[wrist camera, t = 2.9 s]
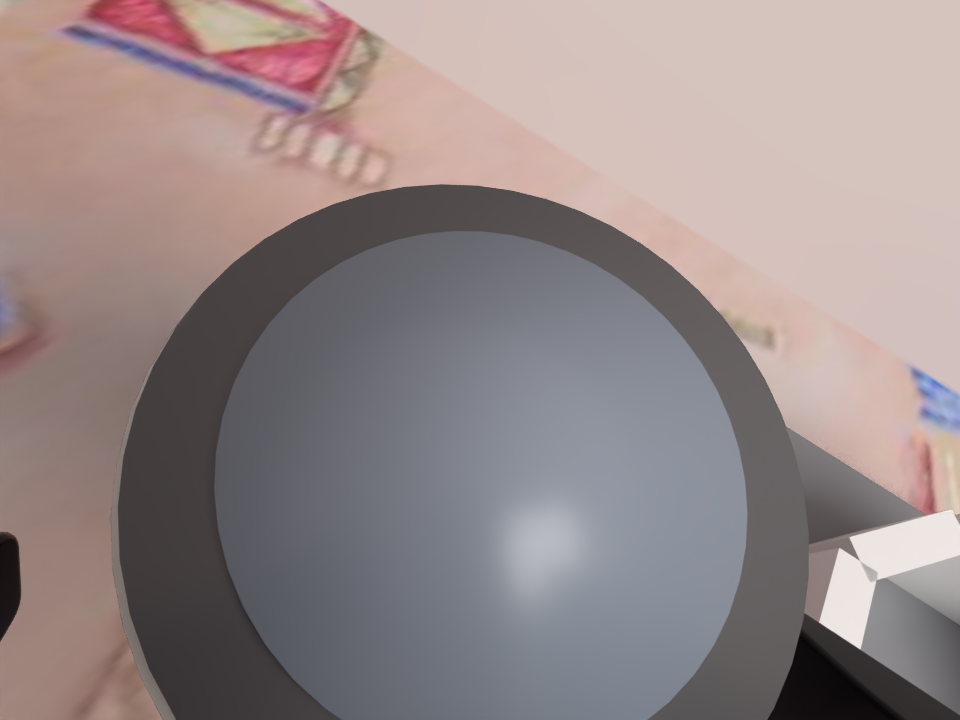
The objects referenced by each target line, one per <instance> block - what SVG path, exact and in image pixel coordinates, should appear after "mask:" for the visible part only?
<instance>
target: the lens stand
mask: <svg viewBox="0 0 960 720" xmlns="http://www.w3.org/2000/svg"><path fill="white" fill-rule="evenodd" d="M786 429H787V432H788V435H789V437H790V440H791V443H792V446H793V449H794V452H795V456H796V460H797V464H798V469H799V473H800V477H801V482H802V486H803V490H804V497H805V506H806V514H807V523H808V532H809V578H808V586H807V594H806V602H805V610H804V613H805V614H807V615H809V616H810V617H812V618H813V619H815V620H816V621H818V622H819V623H821V624H822V625H824V626H825V627H827V628H828V629H830V630H831V631H833V632H835V633H836V634H838V635H839V636H841V637H842V638H844V639H845V640H847V641H848V642H850V643H851V644H853V645H854V646H856V647H857V648H859V649H860V650H862V651H863V652H865V653H867V654H868V655H870V656H871V657H873V658H874V659H876V660H877V661H879V662H880V663H882V664H883V665H885V666H886V667H888V668H889V669H891V670H892V671H894V672H895V673H897V674H899V675H900V676H902V677H903V678H905V679H906V680H908V681H909V682H911V683H912V684H914V685H915V686H917V687H918V688H920V689H921V690H923V691H924V692H926V693H927V694H929V695H931V696H932V697H934V698H935V699H937V700H938V701H940V702H941V703H943V704H944V705H946V706H947V707H949V708H950V709H952V710H953V711H955V712H956V713H958V714H959V715H960V514H958V515H954V513H953V511H952V509H951V510H947V511H942V512H938V513H934V514H929V515H925V514H924V513H922V512H921V511H919V510H917V509H916V508H914V507H913V506H911V505H909V504H908V503H906V502H905V501H903V500H902V499H900V498H898V497H897V496H895V495H894V494H892V493H890V492H889V491H887V490H886V489H884V488H883V487H881V486H879V485H878V484H876V483H875V482H873V481H871V480H870V479H868V478H867V477H865V476H863V475H862V474H860V473H859V472H857V471H856V470H854V469H852V468H851V467H849V466H848V465H846V464H844V463H843V462H841V461H840V460H838V459H837V458H835V457H833V456H832V455H830V454H829V453H827V452H825V451H824V450H822V449H821V448H819V447H818V446H816V445H814V444H813V443H811V442H810V441H808V440H806V439H805V438H803V437H802V436H800V435H798V434H797V433H795V432H794V431H792V430H791V429H789V428H787V427H786Z"/></svg>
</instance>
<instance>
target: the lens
mask: <svg viewBox="0 0 960 720" xmlns="http://www.w3.org/2000/svg"><path fill="white" fill-rule="evenodd" d="M111 542H112V570H113V575H114V581H115V586H116V592H117V597H118V603H119V608H120V614H121V619H122V624H123V627H124V630H125V633H126V636H127V639H128V642H129V645H130V647H131V650H132V653H133V656H134V659H135V662H136V665H137V668H138V671H139V674H140V676H141V679H142V681H143V683H144V684H145V686H146V688H147V690H148V692H149V694H150V696H151V698H152V700H153V702H154V703H155V705H156V707H157V709H158V711H159V713H160V715H161V717H162V719H163V720H767V719H768V717H769V716H770V714H771V712H772V711H773V709H774V707H775V704H776V702H777V700H778V697H779V695H780V692H781V690H782V687H783V685H784V682H785V680H786V677H787V675H788V673H789V670H790V668H791V665H792V662H793V658H794V654H795V650H796V646H797V642H798V639H799V635H800V631H801V627H802V623H803V618H804V610H805V602H806V594H807V586H808V578H809V532H808V523H807V514H806V506H805V497H804V490H803V486H802V482H801V477H800V473H799V469H798V464H797V460H796V456H795V452H794V449H793V446H792V443H791V440H790V437H789V435H788V432H787V429H786V426H785V423H784V420H783V417H782V415H781V412H780V410H779V408H778V406H777V404H776V402H775V400H774V398H773V395H772V393H771V391H770V389H769V387H768V385H767V383H766V381H765V379H764V377H763V375H762V374H761V372H760V370H759V369H758V367H757V366H756V364H755V362H754V361H753V359H752V357H751V356H750V354H749V352H748V351H747V349H746V347H745V346H744V345H743V343H742V342H741V341H740V339H739V338H738V337H737V335H736V334H735V333H734V331H733V330H732V329H731V327H730V326H729V325H728V323H727V322H726V321H725V319H724V318H723V317H722V316H721V314H720V313H719V312H718V311H717V310H716V309H715V308H714V307H713V306H712V305H711V304H710V302H709V301H708V300H707V299H706V298H705V297H704V296H703V295H702V294H701V293H700V291H699V290H698V289H696V288H695V287H694V286H693V285H692V284H691V283H690V282H689V281H688V280H686V279H685V278H684V277H683V276H682V275H681V274H680V273H679V272H678V271H676V270H675V269H674V268H673V267H672V266H671V265H669V264H668V263H667V262H665V261H664V260H663V259H661V258H660V257H659V256H657V255H656V254H655V253H653V252H652V251H650V250H649V249H648V248H646V247H645V246H644V245H642V244H641V243H639V242H637V241H636V240H634V239H632V238H631V237H629V236H627V235H626V234H624V233H622V232H621V231H619V230H617V229H616V228H614V227H612V226H610V225H608V224H606V223H604V222H602V221H600V220H598V219H595V218H593V217H591V216H589V215H587V214H585V213H583V212H581V211H578V210H575V209H572V208H570V207H567V206H564V205H561V204H558V203H556V202H553V201H550V200H547V199H543V198H539V197H535V196H531V195H527V194H523V193H519V192H515V191H510V190H503V189H496V188H489V187H482V186H469V185H442V184H441V185H427V186H412V187H403V188H397V189H392V190H386V191H380V192H375V193H369V194H366V195H363V196H359V197H356V198H353V199H349V200H346V201H343V202H339V203H336V204H333V205H331V206H328V207H326V208H324V209H321V210H319V211H317V212H314V213H312V214H310V215H307V216H305V217H303V218H301V219H298V220H297V221H295V222H293V223H291V224H290V225H288V226H286V227H285V228H283V229H281V230H279V231H278V232H276V233H274V234H273V235H271V236H269V237H267V238H266V239H264V240H263V241H262V242H260V243H259V244H258V245H256V246H255V247H254V248H252V249H251V250H250V251H248V252H247V253H246V254H244V255H243V256H242V257H240V258H239V259H238V260H236V261H235V262H234V263H233V264H232V265H231V266H230V267H229V268H227V269H226V270H225V271H224V272H223V273H222V274H221V275H220V276H219V277H218V278H217V279H216V280H215V281H214V282H213V283H212V284H211V285H210V286H209V287H208V288H207V289H206V290H205V291H204V292H203V293H202V294H201V296H200V297H199V298H198V299H197V300H196V302H195V303H194V304H193V305H192V307H191V308H190V309H189V311H188V312H187V313H186V314H185V316H184V317H183V318H182V320H181V321H180V322H179V323H178V325H177V326H176V327H175V328H174V330H173V331H172V332H171V334H170V335H169V337H168V339H167V340H166V342H165V344H164V345H163V347H162V349H161V350H160V352H159V354H158V356H157V357H156V359H155V361H154V362H153V364H152V366H151V367H150V369H149V371H148V373H147V375H146V377H145V380H144V382H143V384H142V387H141V389H140V392H139V394H138V396H137V399H136V401H135V404H134V406H133V408H132V411H131V413H130V416H129V419H128V422H127V426H126V430H125V434H124V438H123V441H122V445H121V449H120V453H119V457H118V461H117V464H116V473H115V482H114V491H113V499H112V508H111Z"/></svg>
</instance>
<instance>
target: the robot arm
mask: <svg viewBox="0 0 960 720" xmlns="http://www.w3.org/2000/svg"><path fill="white" fill-rule="evenodd" d="M20 600H21V577H20V559H19V545H18V541H17V539H16V537H15V536H14V535H12V534H10V533H8V532H0V642H1V640H2V638H3V636H4V635H5V633H6V631H7V630H8V628H9V626H10V624H11V623H12V621H13V619H14V617H15V615H16V613H17V611H18V608H19V605H20ZM767 720H960V715H959V714H958V713H956V712H955V711H953V710H952V709H950V708H949V707H947V706H946V705H944V704H943V703H941V702H940V701H938V700H937V699H935V698H934V697H932V696H931V695H929V694H927V693H926V692H924V691H923V690H921V689H920V688H918V687H917V686H915V685H914V684H912V683H911V682H909V681H908V680H906V679H905V678H903V677H902V676H900V675H899V674H897V673H895V672H894V671H892V670H891V669H889V668H888V667H886V666H885V665H883V664H882V663H880V662H879V661H877V660H876V659H874V658H873V657H871V656H870V655H868V654H867V653H865V652H863V651H862V650H860V649H859V648H857V647H856V646H854V645H853V644H851V643H850V642H848V641H847V640H845V639H844V638H842V637H841V636H839V635H838V634H836V633H835V632H833V631H831V630H830V629H828V628H827V627H825V626H824V625H822V624H821V623H819V622H818V621H816V620H815V619H813V618H812V617H810V616H809V615H807V614H805V613H804V618H803V623H802V627H801V631H800V635H799V639H798V642H797V646H796V650H795V654H794V658H793V662H792V665H791V668H790V670H789V673H788V675H787V677H786V680H785V682H784V685H783V687H782V690H781V692H780V695H779V697H778V700H777V702H776V704H775V707H774V709H773V711H772V712H771V714H770V716H769V717H768V719H767Z"/></svg>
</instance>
